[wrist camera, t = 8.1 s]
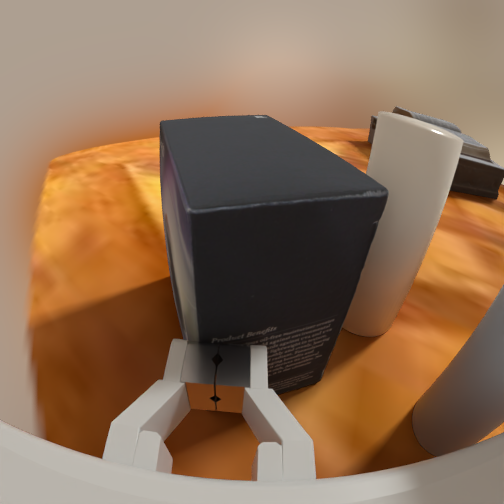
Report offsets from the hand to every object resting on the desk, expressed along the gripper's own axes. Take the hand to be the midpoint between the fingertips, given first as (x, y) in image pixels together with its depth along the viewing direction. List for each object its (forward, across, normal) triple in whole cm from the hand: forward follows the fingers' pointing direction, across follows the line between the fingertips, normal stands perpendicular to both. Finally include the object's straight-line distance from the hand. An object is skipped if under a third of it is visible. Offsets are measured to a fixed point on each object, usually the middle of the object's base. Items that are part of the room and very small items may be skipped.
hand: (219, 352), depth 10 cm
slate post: (-1, -12, +5) cm, 13 cm away
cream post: (+7, -8, +5) cm, 12 cm away
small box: (+6, 0, +5) cm, 8 cm away
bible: (+46, -36, +6) cm, 59 cm away
